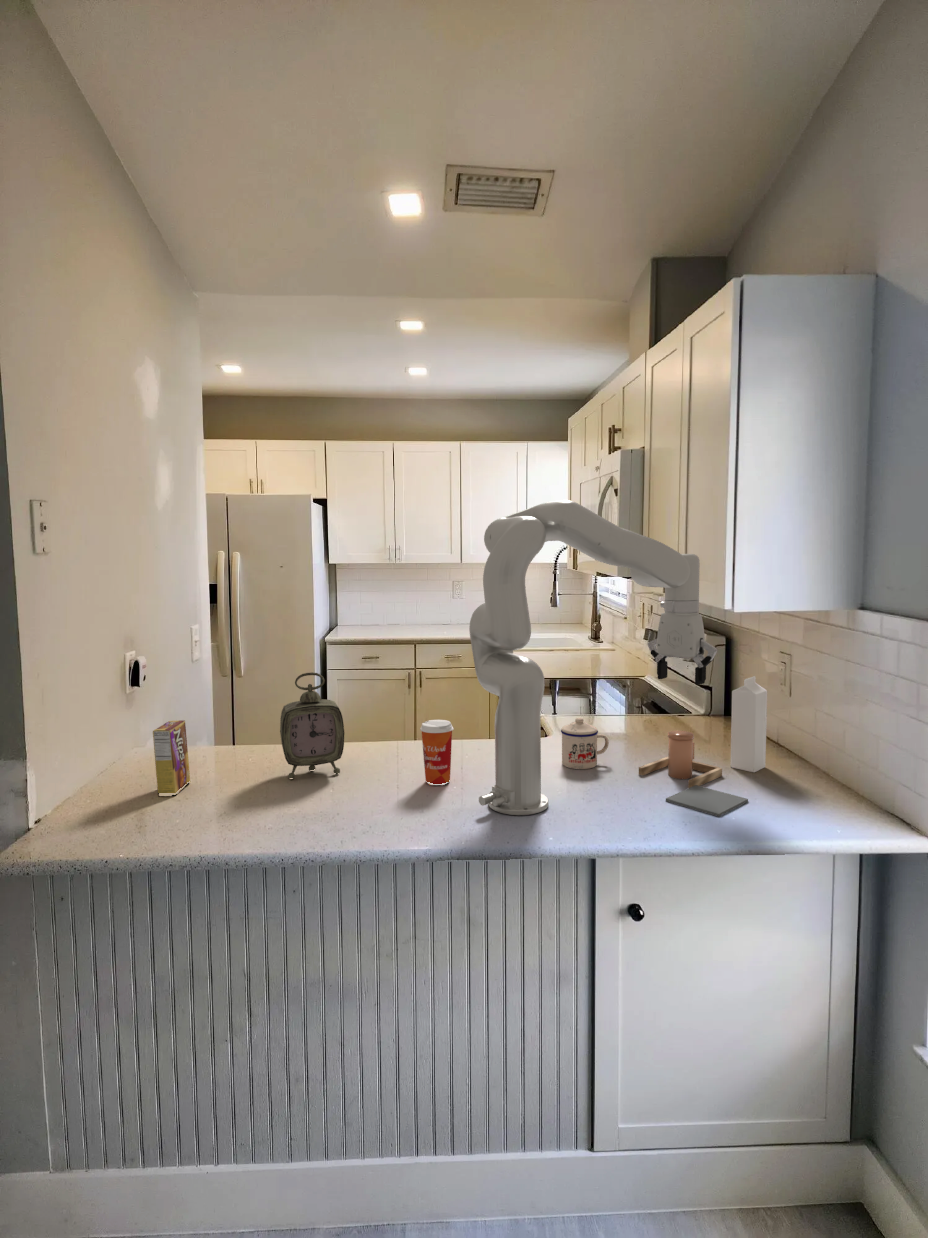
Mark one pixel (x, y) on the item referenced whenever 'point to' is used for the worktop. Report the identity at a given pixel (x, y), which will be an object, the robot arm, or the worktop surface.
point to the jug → (680, 754)
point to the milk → (749, 726)
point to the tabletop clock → (311, 730)
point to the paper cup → (437, 750)
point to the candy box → (171, 756)
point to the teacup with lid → (581, 745)
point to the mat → (707, 800)
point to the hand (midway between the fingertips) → (680, 681)
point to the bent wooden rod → (709, 770)
